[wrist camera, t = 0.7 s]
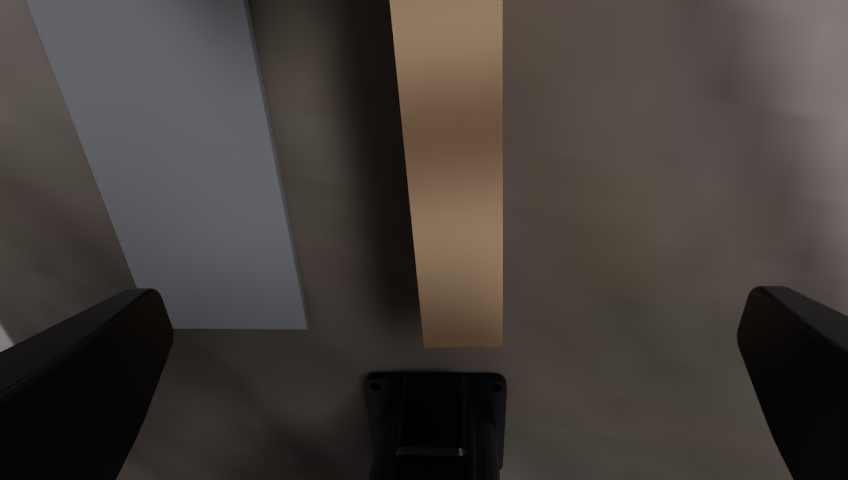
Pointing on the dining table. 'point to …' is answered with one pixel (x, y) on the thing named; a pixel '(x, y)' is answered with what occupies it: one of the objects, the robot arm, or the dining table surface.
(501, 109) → the tan wooden block
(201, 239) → the mat
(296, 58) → the dining table surface
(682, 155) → the dining table surface
